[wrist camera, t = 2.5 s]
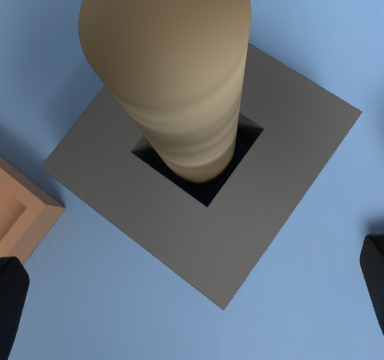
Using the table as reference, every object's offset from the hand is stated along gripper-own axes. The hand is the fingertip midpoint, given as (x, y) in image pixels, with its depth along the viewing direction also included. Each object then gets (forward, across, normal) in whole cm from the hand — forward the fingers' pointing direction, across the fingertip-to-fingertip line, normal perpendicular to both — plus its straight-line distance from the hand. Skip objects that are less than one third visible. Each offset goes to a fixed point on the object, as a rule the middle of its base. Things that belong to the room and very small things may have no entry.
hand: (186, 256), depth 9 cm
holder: (+12, 0, +5) cm, 13 cm away
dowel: (+12, 0, +5) cm, 13 cm away
